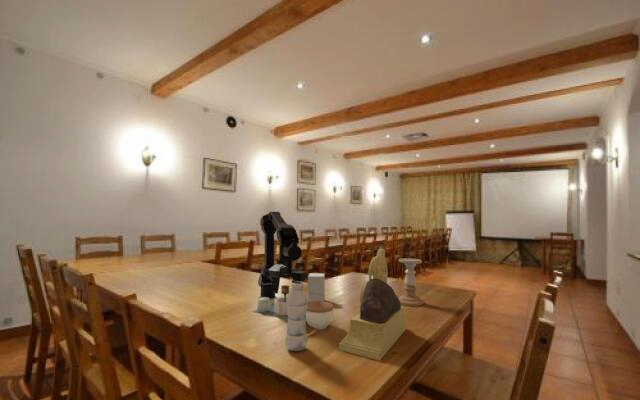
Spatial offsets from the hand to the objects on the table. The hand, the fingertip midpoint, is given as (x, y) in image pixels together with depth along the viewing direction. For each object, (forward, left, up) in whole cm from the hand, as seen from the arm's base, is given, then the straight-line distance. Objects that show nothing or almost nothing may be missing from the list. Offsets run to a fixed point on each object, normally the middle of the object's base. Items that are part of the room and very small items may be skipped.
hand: (285, 294), depth 126 cm
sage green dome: (-8, -4, -7) cm, 12 cm away
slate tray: (-1, +1, -8) cm, 8 cm away
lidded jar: (+19, -5, -8) cm, 21 cm away
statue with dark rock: (+41, -4, -8) cm, 42 cm away
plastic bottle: (+23, -25, -8) cm, 35 cm away
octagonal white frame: (0, 0, -7) cm, 7 cm away
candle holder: (+40, +45, -8) cm, 61 cm away
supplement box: (+2, +22, -8) cm, 23 cm away
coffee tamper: (0, 0, -6) cm, 6 cm away
